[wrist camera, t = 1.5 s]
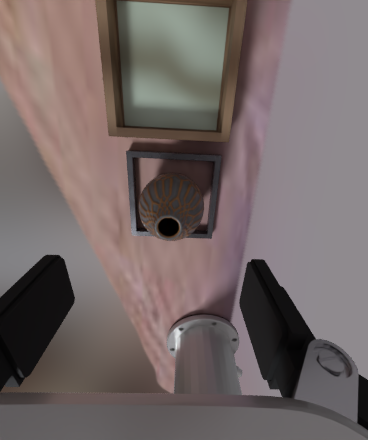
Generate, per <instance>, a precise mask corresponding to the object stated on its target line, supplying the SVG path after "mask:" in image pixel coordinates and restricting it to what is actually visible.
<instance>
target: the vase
mask: <svg viewBox="0 0 368 440" xmlns="http://www.w3.org/2000/svg"><path fill="white" fill-rule="evenodd" d="M203 212H204V202H203V197H202V194H201V192H200V190H199V188H198V187H197V185H196V184H195V183H194V182H193V181H192V180H191V179H189V178H188V177H186V176H184V175H181V174H176V173H167V174H162V175H159V176H157V177H155V178H154V179H153V180H151V181H150V182H149V183H148V184H147V185H146V187H145V188H144V190H143V192H142V194H141V196H140V200H139V214H140V218H141V221H142V223H143V225H144V226H145V228H146V229H147V230H148V231H149V232H150V233H151V234H152V235H154V236H155V237H157V238H159V239H162V240H167V241H175V240H180V239H183V238H185V237H187V236H189V235H190V234H191V233H193V232H194V231H195V229H196V228H197V227H198V225H199V224H200V222H201V219H202V217H203Z"/></svg>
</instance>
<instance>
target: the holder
mask: <svg viewBox="0 0 368 440" xmlns="http://www.w3.org/2000/svg"><path fill="white" fill-rule="evenodd" d="M95 1H96V12H97V22H98V32H99V42H100V52H101V62H102V72H103V82H104V92H105V102H106V112H107V122H108V133H109V136H117V137H136V138H156V139H175V140H194V141H213V142H229V137H230V129H231V122H232V114H233V107H234V99H235V91H236V84H237V76H238V69H239V61H240V53H241V46H242V38H243V31H244V23H245V15H246V8H247V0H95Z"/></svg>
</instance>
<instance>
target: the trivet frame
mask: <svg viewBox="0 0 368 440" xmlns="http://www.w3.org/2000/svg"><path fill="white" fill-rule="evenodd" d="M126 155H127V170H128V185H129V200H130V214H131V229H132V235H137V236H154V235H152V234H151V233H150V232H149V231H148V230H147V229H146V228H138V219H137V201H136V182H135V163H134V157H139V158H159V159H179V160H199V161H214V167H213V176H212V185H211V195H210V204H209V213H208V223H207V231H199V230H195V231H194V232H193V233H191V234H190V235H189V236H187V237H186V238H210V239H212V231H213V222H214V214H215V206H216V198H217V189H218V181H219V173H220V164H221V155H212V154H192V153H172V152H153V151H133V150H128V151H126Z"/></svg>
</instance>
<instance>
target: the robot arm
mask: <svg viewBox="0 0 368 440" xmlns="http://www.w3.org/2000/svg"><path fill="white" fill-rule="evenodd" d="M74 299H75V297H74V293H73V290H72V286H71V282H70V279H69V275H68V272H67V268H66V265H65V261H64V259H63V258H61V257H60V256H59V255H46V256H44V257H43V258H42V259H41V260H40V261H39V262H37V263H36V264H35V265H34V266H33V267H32V268H31V269H30V270H29V271H28V272H27V273H26V274H25V275H24V276H23V277H21V278H20V279H19V280H18V281H17V282H16V283H15V284H14V285H13V286H12V287H11V288H10V289H9V290H8V291H7V292H6V293H5V294H4V295H3V296H1V298H0V391H1V390H2V388H3V387H4V385H5V386H6V387H19V386H20V385H21V383H22V382H23V380H24V379H25V377H28V376H29V375H30V374H31V372H32V371H33V369H34V368H35V366H36V364H37V363H38V361H39V359H40V358H41V356H42V354H43V353H44V351H45V350H46V348H47V346H48V345H49V343H50V341H51V339H52V338H53V337H54V335H55V333H56V332H57V330H58V328H59V327H60V325H61V323H62V322H63V320H64V319H65V317H66V315H67V314H68V312H69V310H70V309H71V307H72V306H73V304H74ZM240 308H241V311H242V314H243V318H244V321H245V324H246V327H247V330H248V334H249V337H250V340H251V343H252V346H253V349H254V352H255V356H256V359H257V362H258V365H259V368H260V372H261V375H262V377H263V379H264V380H267V381H268V384H269V388H270V389H279V390H280V392H281V395H282V397H273V396H253V395H242V393H241V389H240V384H239V379H238V377H241V376H242V370H241V369H240V368H239V367H238V366H236V363H235V358H234V353H235V352H236V350H237V348H238V345H239V337H238V333H237V331H236V329H235V327H234V326H233V325H232V324H231V323H230V322H229V321H227V320H225V319H223V318H221V317H218V316H213V315H194V316H190V317H187V318H184V319H182V320H180V321H179V322H177V323H176V324H175V325H174V326H173V327H172V328H171V329H170V331H169V333H168V336H167V348H168V351H169V352H170V354H171V355H172V356H173V357H174V358H175V381H174V394H158V393H156V394H155V393H153V394H152V393H0V440H368V380H367V379H366V378H364V377H362V376H361V375H359V374H358V369H357V367H356V365H355V363H354V361H353V360H352V358H351V357H350V356H349V355H348V354H347V353H346V352H345V351H344V350H343V349H341V348H340V347H339V346H337V345H335V344H334V343H332V342H329V341H327V340H322V339H315V337H314V335H313V334H312V332H311V331H310V329H309V327H308V326H307V325H306V323H305V321H304V319H303V318H302V316H301V314H300V313H299V311H298V310H297V308H296V306H295V305H294V303H293V302H292V300H291V299H290V297H289V295H288V294H287V292H286V291H285V289H284V288H283V287H281V286H280V285H279V284H278V282H277V280H276V279H275V277H274V275H273V274H272V272H271V270H270V269H269V267H268V265H267V264H266V262H265V261H264V260H259V259H252V260H251V262H248V263H247V268H246V273H245V277H244V282H243V286H242V292H241V296H240Z"/></svg>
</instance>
